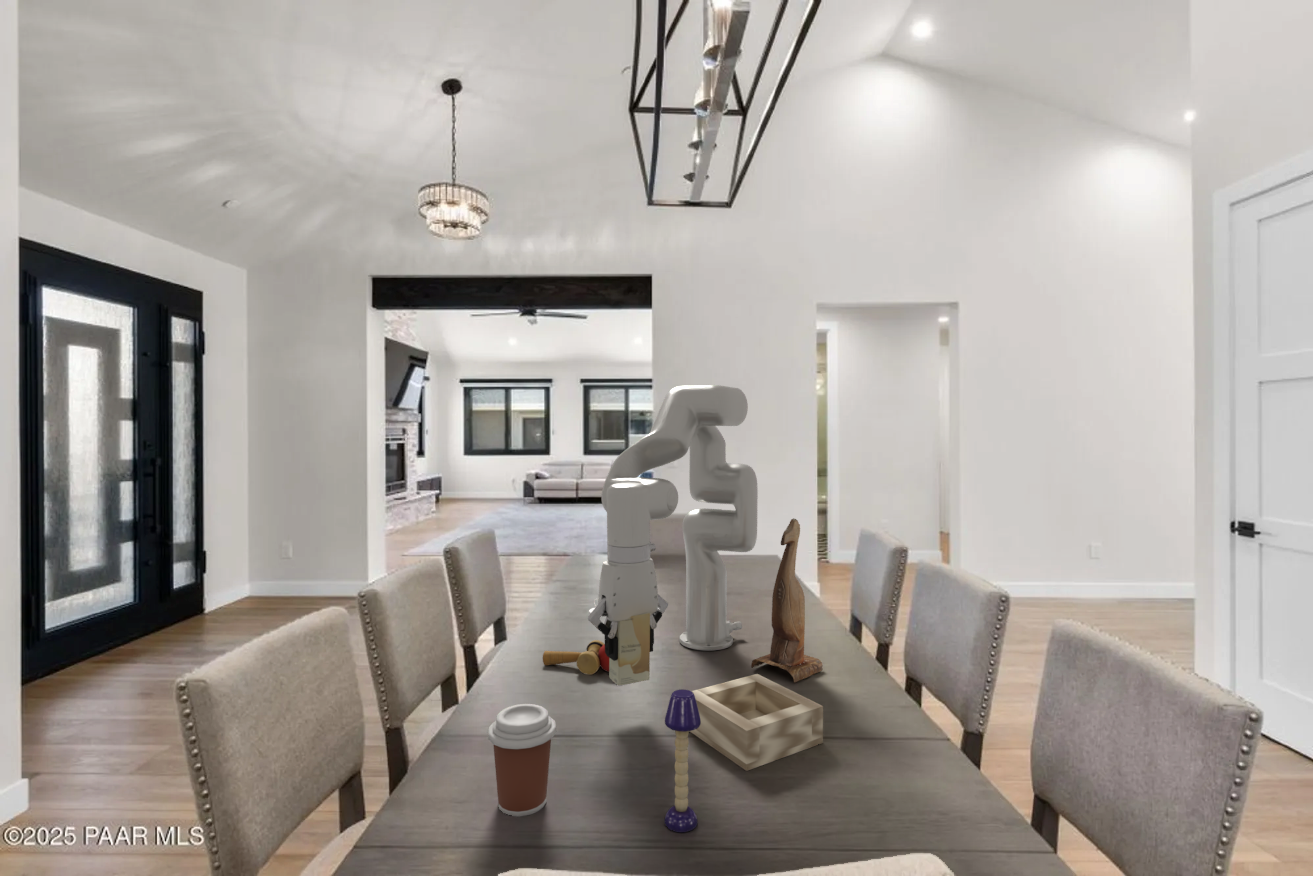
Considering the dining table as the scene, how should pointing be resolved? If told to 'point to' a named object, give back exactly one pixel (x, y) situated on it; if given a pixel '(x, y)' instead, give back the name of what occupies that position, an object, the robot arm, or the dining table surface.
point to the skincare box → (632, 651)
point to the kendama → (581, 658)
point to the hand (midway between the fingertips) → (629, 652)
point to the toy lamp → (681, 757)
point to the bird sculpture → (789, 615)
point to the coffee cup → (522, 757)
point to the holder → (757, 720)
